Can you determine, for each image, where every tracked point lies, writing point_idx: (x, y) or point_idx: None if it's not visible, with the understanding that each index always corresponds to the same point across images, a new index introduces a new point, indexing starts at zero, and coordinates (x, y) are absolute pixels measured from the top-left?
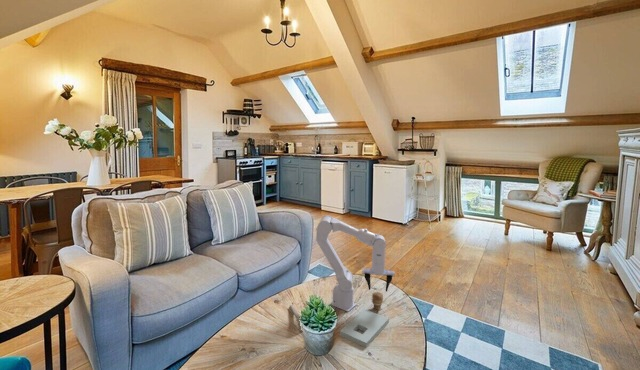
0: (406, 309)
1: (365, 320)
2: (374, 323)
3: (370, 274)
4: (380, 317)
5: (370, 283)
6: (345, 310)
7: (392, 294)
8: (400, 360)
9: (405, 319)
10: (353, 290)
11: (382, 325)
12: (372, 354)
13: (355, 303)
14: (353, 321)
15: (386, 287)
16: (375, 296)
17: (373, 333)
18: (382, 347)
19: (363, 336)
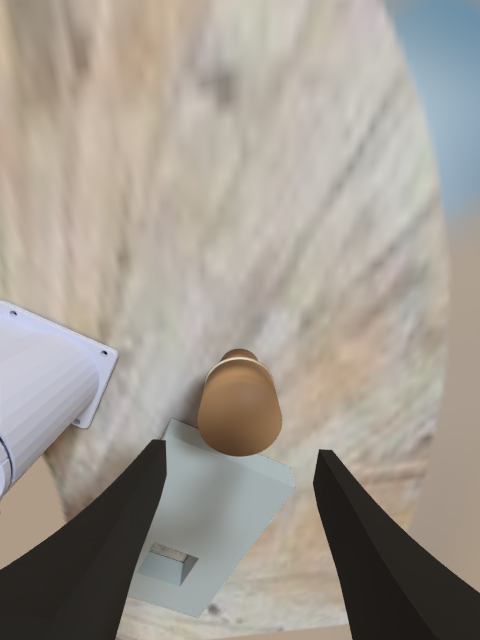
0: (407, 349)
1: (182, 517)
2: (225, 528)
3: (77, 589)
4: (254, 488)
5: (148, 468)
6: (71, 422)
7: (358, 171)
8: (307, 618)
9: (376, 434)
10: (25, 442)
11: (261, 532)
12: (222, 611)
13: (108, 355)
14: None
15: (332, 542)
16: (222, 445)
17: (222, 578)
18: (255, 585)
19: (184, 594)
